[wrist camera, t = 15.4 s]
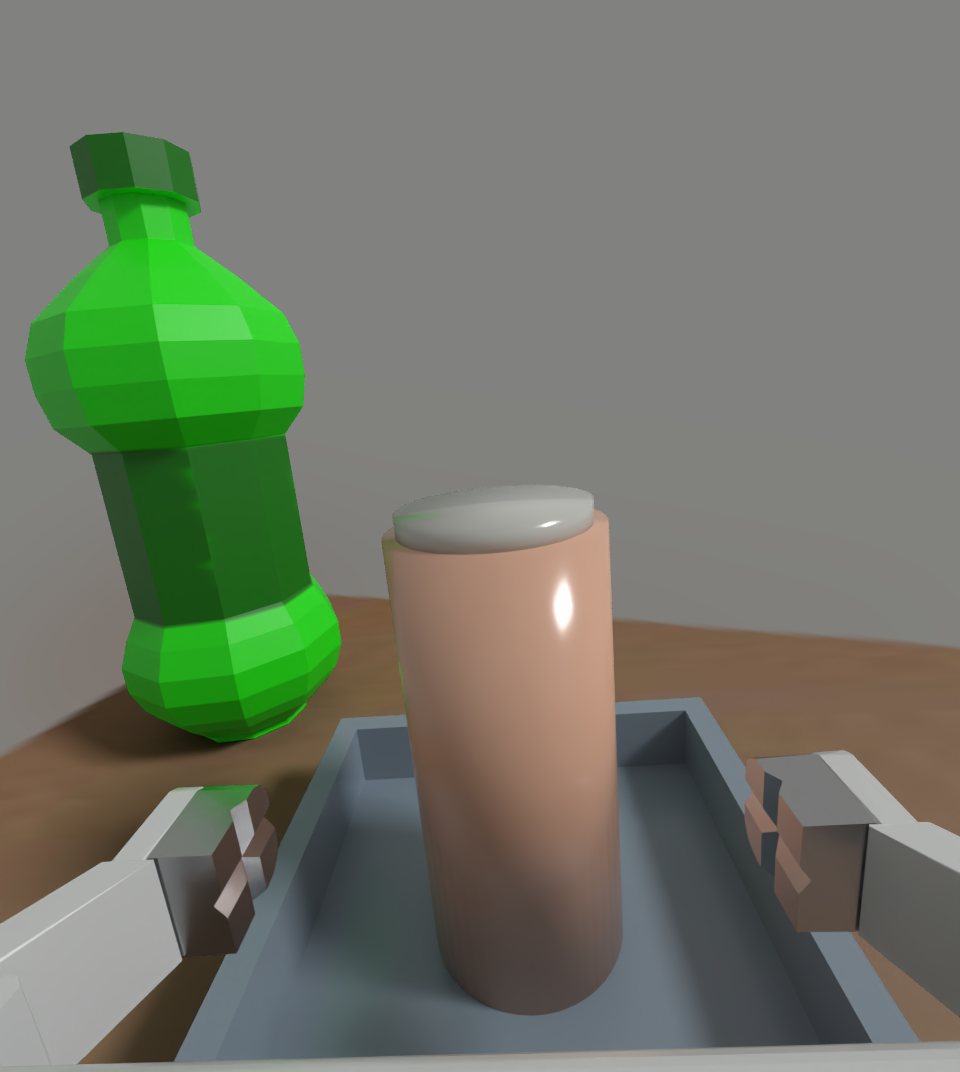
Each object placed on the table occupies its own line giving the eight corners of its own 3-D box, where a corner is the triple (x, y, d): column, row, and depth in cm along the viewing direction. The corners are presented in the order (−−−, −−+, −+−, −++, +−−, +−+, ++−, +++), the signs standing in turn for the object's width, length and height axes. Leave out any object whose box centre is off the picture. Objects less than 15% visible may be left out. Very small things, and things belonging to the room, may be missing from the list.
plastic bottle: (192, 675, 33) (78, 207, 27) (370, 655, 34) (298, 189, 28) (89, 790, 24) (-125, 104, 17) (340, 761, 24) (219, 78, 18)
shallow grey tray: (142, 1340, 9) (95, 1222, 9) (353, 784, 23) (341, 718, 22) (1002, 1351, 9) (1033, 1219, 8) (700, 766, 22) (700, 697, 21)
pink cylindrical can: (425, 1017, 13) (351, 542, 10) (446, 848, 18) (400, 492, 15) (643, 1013, 13) (630, 520, 10) (605, 841, 18) (589, 476, 15)
